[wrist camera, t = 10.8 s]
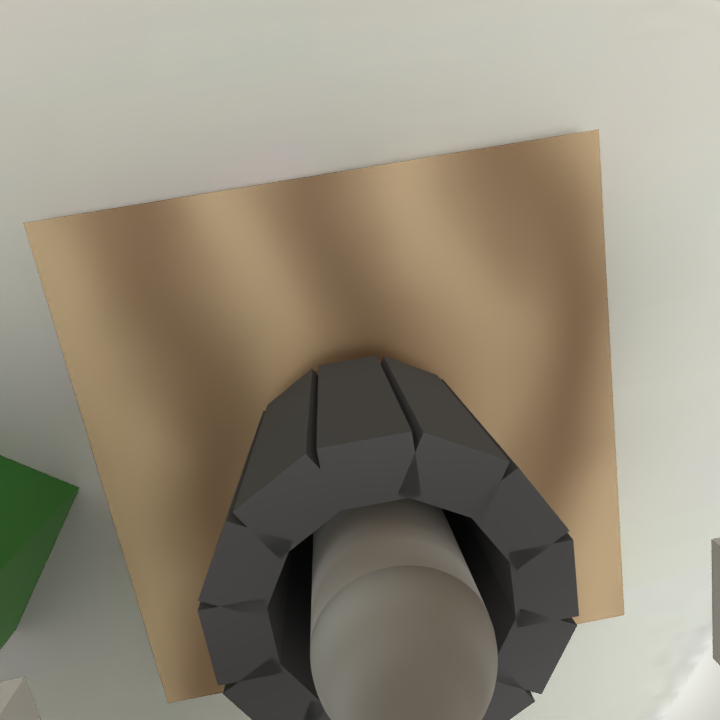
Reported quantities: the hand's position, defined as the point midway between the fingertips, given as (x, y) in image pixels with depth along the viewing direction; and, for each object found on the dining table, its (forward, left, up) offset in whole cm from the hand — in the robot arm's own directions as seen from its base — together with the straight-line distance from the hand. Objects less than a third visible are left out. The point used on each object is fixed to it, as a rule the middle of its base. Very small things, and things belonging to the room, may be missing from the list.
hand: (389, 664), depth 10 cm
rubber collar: (0, 0, -8) cm, 8 cm away
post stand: (0, 0, -12) cm, 12 cm away
